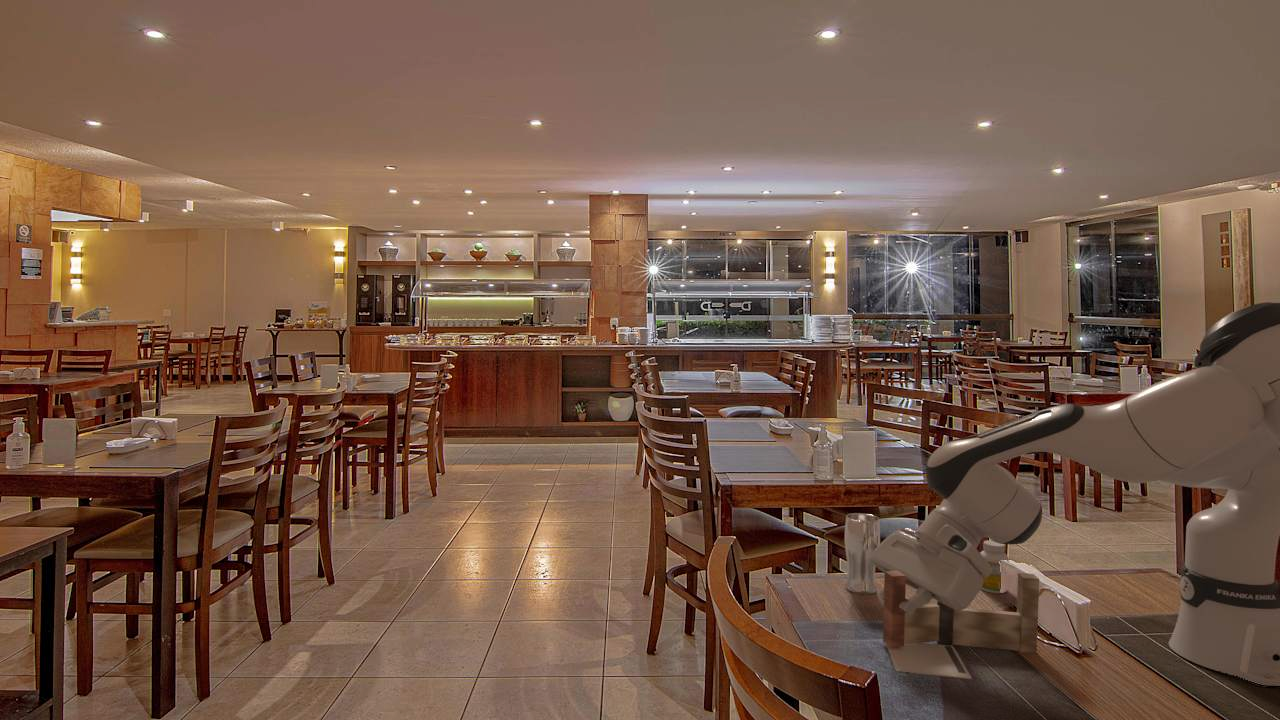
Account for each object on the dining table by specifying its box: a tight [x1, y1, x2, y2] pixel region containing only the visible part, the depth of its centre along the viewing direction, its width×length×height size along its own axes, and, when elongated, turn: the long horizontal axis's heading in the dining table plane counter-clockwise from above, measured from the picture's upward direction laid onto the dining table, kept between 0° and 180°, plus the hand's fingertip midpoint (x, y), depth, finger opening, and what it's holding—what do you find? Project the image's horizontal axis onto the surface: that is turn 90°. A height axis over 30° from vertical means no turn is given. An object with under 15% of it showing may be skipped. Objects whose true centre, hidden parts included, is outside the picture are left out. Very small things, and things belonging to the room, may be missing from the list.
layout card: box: [885, 642, 973, 680], centre depth 109 cm, size 11×11×1 cm
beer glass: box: [844, 512, 881, 595], centre depth 138 cm, size 7×7×15 cm
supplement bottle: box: [980, 539, 1009, 594], centre depth 139 cm, size 5×5×10 cm
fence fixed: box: [935, 572, 1040, 655], centre depth 113 cm, size 15×3×13 cm, turn 79°
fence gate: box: [882, 571, 940, 648], centre depth 113 cm, size 9×2×12 cm, turn 102°
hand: (893, 605), depth 112 cm, fingers open, 4 cm apart
